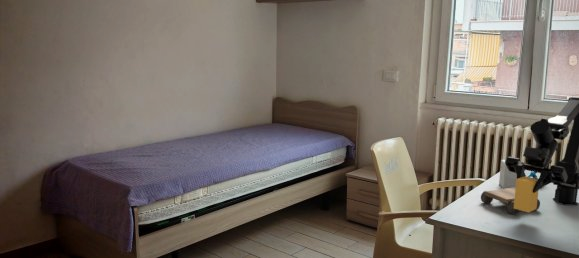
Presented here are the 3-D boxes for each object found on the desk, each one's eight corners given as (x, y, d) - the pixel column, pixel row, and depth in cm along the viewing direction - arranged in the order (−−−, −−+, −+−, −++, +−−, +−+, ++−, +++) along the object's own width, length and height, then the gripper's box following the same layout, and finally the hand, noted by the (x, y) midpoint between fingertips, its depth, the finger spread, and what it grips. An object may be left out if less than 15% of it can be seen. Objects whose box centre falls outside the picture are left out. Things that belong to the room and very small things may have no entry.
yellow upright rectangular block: (521, 204, 168) (524, 176, 166) (536, 208, 164) (539, 179, 163) (513, 208, 165) (516, 179, 163) (528, 212, 161) (531, 182, 159)
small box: (517, 190, 201) (520, 164, 199) (502, 189, 202) (505, 163, 200) (512, 184, 209) (515, 160, 207) (498, 183, 210) (501, 159, 208)
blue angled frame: (527, 174, 219) (545, 162, 212) (536, 185, 217) (554, 174, 210) (515, 182, 212) (533, 170, 205) (525, 194, 210) (543, 182, 203)
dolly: (508, 198, 189) (509, 186, 188) (539, 210, 177) (540, 196, 176) (480, 202, 184) (481, 189, 183) (510, 215, 171) (511, 201, 170)
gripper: (510, 133, 170) (490, 169, 165) (568, 142, 156) (548, 182, 151) (518, 152, 176) (500, 188, 171) (575, 163, 162) (557, 202, 157)
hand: (525, 190), depth 163 cm, fingers closed on yellow upright rectangular block, 5 cm apart
